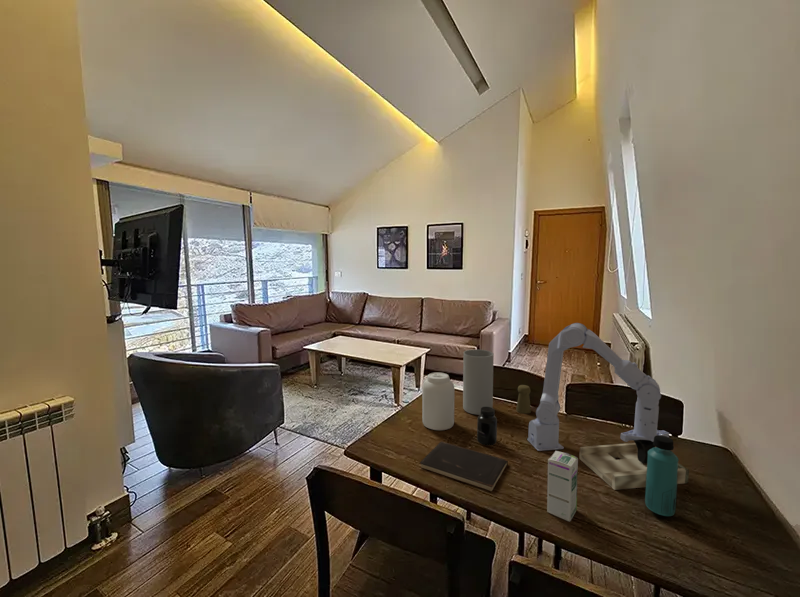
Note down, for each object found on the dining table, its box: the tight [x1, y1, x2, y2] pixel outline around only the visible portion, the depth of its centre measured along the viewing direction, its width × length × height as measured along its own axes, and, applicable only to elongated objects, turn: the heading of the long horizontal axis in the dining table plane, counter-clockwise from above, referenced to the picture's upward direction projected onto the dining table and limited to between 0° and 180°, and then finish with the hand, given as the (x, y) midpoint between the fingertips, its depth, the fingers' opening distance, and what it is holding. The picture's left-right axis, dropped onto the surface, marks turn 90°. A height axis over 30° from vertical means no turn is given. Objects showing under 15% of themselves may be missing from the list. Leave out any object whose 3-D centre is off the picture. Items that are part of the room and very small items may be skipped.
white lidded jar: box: [421, 371, 455, 431], centre depth 141 cm, size 12×12×20 cm
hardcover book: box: [419, 440, 508, 492], centre depth 112 cm, size 16×23×2 cm
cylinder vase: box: [462, 349, 495, 416], centre depth 154 cm, size 12×12×25 cm
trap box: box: [578, 442, 690, 491], centre depth 109 cm, size 23×16×4 cm
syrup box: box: [546, 450, 579, 523], centre depth 91 cm, size 6×6×14 cm
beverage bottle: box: [644, 435, 679, 517], centre depth 90 cm, size 6×7×20 cm
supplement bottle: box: [476, 407, 498, 447], centre depth 127 cm, size 7×7×12 cm
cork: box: [515, 384, 532, 415], centre depth 153 cm, size 6×6×11 cm
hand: (642, 461), depth 110 cm, fingers closed, pressing on walnut block
